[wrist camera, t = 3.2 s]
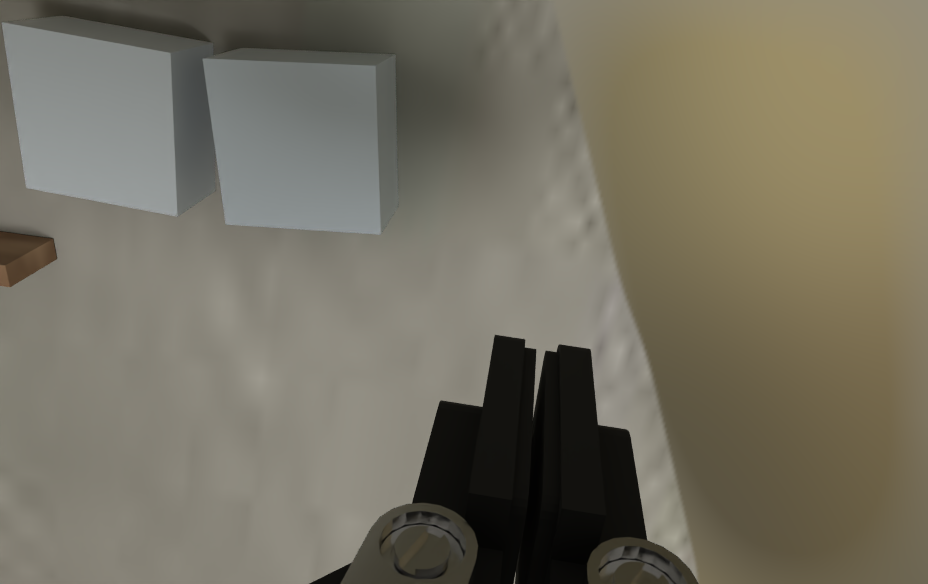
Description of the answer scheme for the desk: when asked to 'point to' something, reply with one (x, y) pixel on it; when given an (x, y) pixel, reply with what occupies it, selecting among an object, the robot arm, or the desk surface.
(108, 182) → the tile
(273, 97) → the tile trail
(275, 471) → the desk surface
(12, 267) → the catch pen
